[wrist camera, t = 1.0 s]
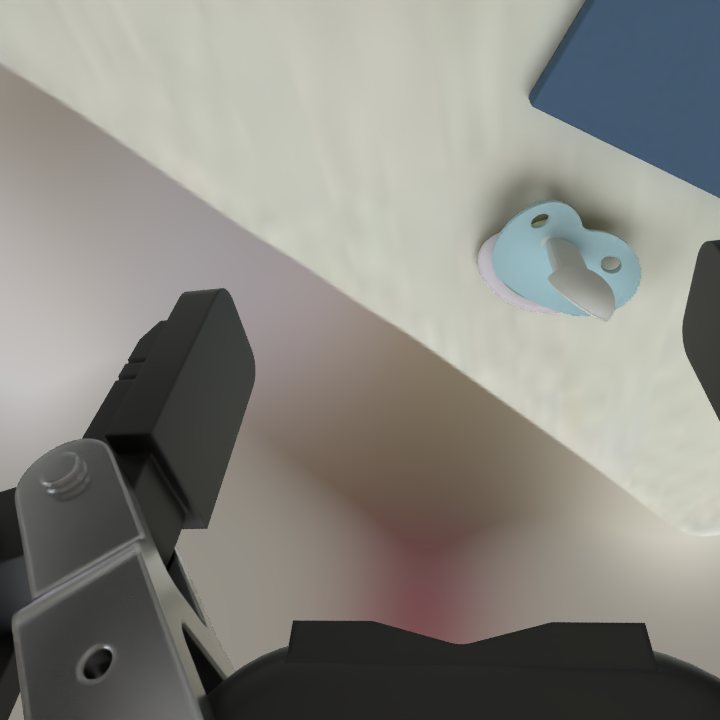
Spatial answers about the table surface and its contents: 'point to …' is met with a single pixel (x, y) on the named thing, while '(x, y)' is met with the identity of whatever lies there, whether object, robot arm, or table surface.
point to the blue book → (643, 82)
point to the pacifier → (558, 264)
